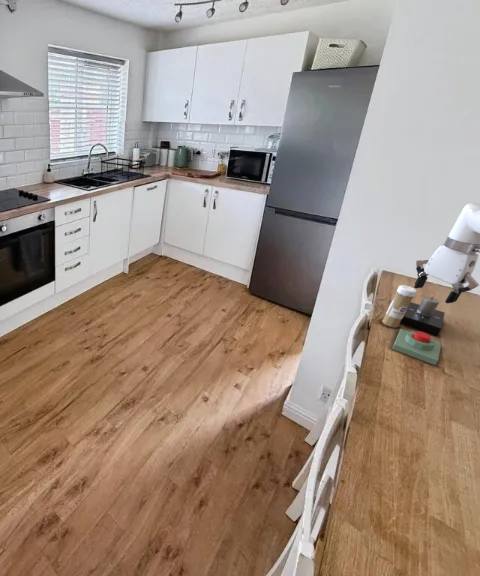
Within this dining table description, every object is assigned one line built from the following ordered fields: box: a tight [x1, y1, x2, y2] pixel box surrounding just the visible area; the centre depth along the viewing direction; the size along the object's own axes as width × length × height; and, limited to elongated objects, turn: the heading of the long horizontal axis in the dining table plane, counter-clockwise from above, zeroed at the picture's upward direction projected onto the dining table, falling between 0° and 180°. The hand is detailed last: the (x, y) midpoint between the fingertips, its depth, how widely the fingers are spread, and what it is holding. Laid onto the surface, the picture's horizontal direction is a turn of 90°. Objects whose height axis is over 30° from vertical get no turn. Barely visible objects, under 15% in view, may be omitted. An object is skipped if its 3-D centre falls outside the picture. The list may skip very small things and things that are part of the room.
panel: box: [399, 301, 446, 337], centre depth 122 cm, size 14×10×3 cm
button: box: [413, 330, 432, 343], centre depth 107 cm, size 4×4×2 cm
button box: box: [392, 328, 442, 366], centre depth 108 cm, size 12×10×4 cm
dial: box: [416, 296, 440, 317], centre depth 120 cm, size 4×4×6 cm
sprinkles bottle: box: [381, 284, 418, 328], centre depth 117 cm, size 5×5×14 cm
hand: (433, 294), depth 118 cm, fingers open, 9 cm apart
